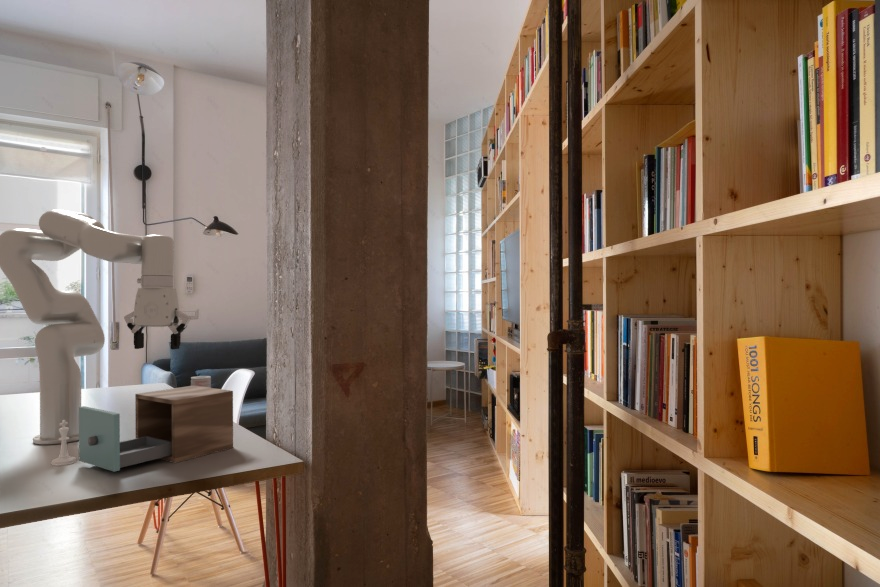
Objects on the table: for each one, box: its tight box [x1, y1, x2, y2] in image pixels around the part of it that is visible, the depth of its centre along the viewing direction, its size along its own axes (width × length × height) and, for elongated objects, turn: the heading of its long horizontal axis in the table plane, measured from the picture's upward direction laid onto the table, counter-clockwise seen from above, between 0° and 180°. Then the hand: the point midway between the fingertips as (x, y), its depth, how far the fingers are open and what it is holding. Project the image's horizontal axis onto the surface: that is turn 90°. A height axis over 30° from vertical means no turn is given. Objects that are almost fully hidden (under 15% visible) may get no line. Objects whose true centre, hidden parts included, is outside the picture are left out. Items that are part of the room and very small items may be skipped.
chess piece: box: [51, 420, 77, 467], centre depth 136 cm, size 5×5×10 cm
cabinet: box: [134, 385, 234, 463], centre depth 146 cm, size 17×16×15 cm
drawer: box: [78, 405, 172, 472], centre depth 134 cm, size 16×16×12 cm
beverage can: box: [190, 375, 212, 388], centre depth 172 cm, size 6×6×15 cm
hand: (157, 348), depth 150 cm, fingers open, 9 cm apart
